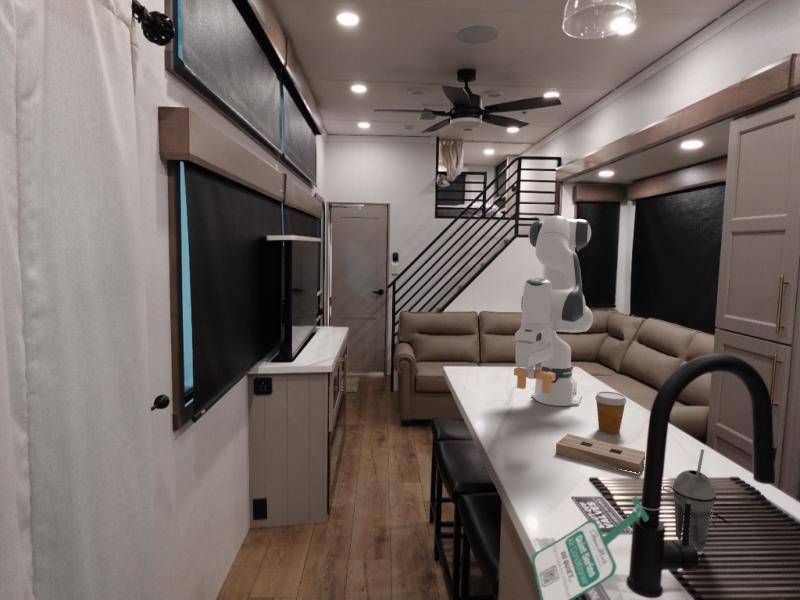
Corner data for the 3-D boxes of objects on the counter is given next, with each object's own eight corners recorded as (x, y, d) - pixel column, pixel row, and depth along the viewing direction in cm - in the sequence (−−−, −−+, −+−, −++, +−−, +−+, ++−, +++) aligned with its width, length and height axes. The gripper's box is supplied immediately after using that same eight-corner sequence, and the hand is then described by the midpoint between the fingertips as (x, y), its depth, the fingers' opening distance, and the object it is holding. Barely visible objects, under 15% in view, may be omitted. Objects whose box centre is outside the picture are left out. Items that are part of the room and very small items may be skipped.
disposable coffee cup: (625, 428, 161) (627, 393, 160) (623, 438, 153) (626, 400, 152) (595, 423, 165) (596, 389, 164) (591, 432, 157) (593, 396, 156)
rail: (567, 443, 148) (567, 433, 147) (646, 462, 134) (647, 452, 134) (555, 453, 140) (556, 443, 139) (638, 475, 126) (639, 464, 126)
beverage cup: (660, 538, 98) (666, 442, 96) (694, 537, 98) (701, 442, 96) (684, 561, 90) (691, 457, 89) (721, 559, 91) (729, 457, 89)
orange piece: (517, 385, 153) (518, 367, 152) (554, 392, 145) (555, 373, 145) (513, 387, 150) (514, 368, 150) (551, 394, 143) (551, 375, 142)
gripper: (539, 327, 156) (537, 369, 158) (512, 335, 140) (510, 381, 141) (558, 329, 152) (556, 372, 154) (532, 337, 136) (530, 385, 138)
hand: (534, 377), depth 147 cm, fingers closed on orange piece, 3 cm apart
